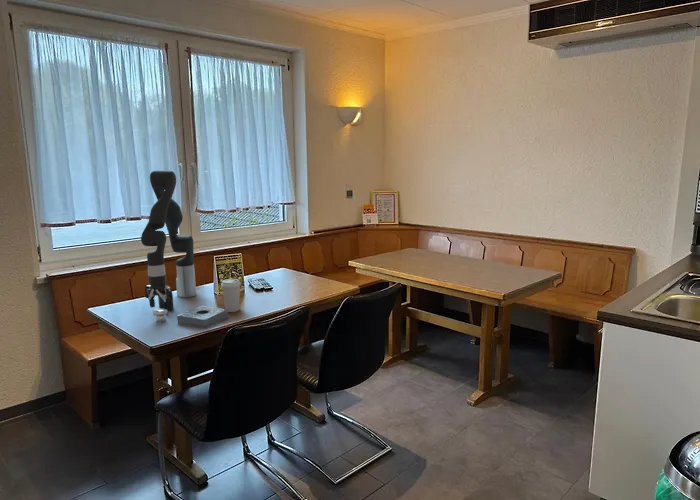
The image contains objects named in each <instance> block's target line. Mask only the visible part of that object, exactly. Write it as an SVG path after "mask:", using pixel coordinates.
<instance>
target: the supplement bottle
mask: <svg viewBox="0 0 700 500" xmlns="http://www.w3.org/2000/svg"><path fill="white" fill-rule="evenodd" d="M165 286H166V288H168V287H171V286H170V285H165ZM164 295H165V294H164ZM172 297H173V293H172ZM165 298H166V297H165ZM169 298H170V295H169ZM157 301H158V309H160V308H164V300H163V299H162V298H161V297H160V296H157ZM174 307H175V306H174V298H173V299H172V300H170V301H169V309H167V312H171V311H173V310H174Z"/></svg>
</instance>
